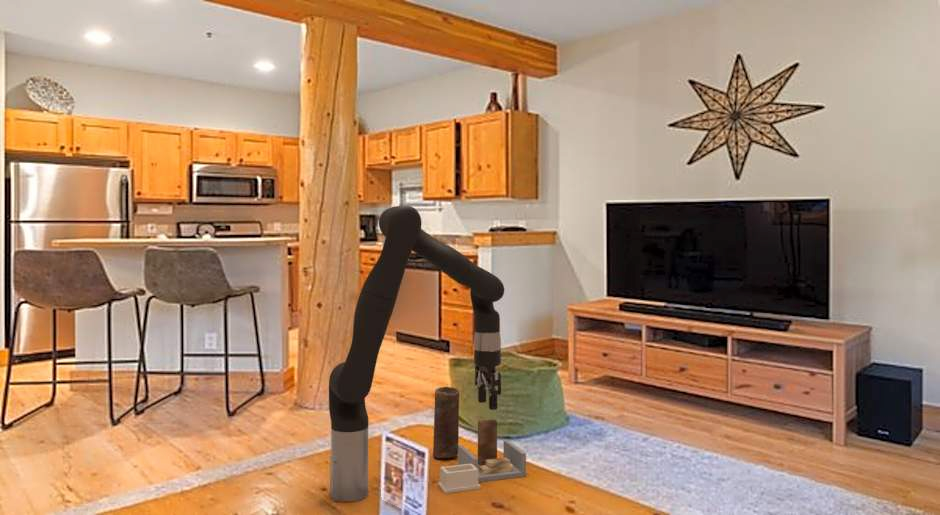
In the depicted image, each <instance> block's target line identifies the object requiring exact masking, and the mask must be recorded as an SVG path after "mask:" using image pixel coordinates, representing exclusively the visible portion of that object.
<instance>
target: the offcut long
mask: <svg viewBox="0 0 940 515" xmlns="http://www.w3.org/2000/svg"><path fill="white" fill-rule="evenodd" d="M478 471H479V472H480V473H481V474H482V475H487V474H495V473H504V472H512V471H514V466H513V465H512V464H511V463H510V466H505V467H498V468H491V469H490V468H488V467H487V466H486V465H482V466H478Z"/></svg>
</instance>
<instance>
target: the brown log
mask: <svg viewBox="0 0 940 515" xmlns="http://www.w3.org/2000/svg"><path fill="white" fill-rule="evenodd" d="M433 413H434V417H433V418H434V419H433V447H432V449H433V450H432V451H433V453H432V456H433V457H434V458H437V459H447V460H448V459H449V460H450V459H453V458H454V457H457V456H458V445H459V434H460V433H459V432H460V431H459V427H460V426H459V423H460V422H459V419H460V417H459V416H460V390H458V389H457V388H455V387H451V386H443V387H440V386H439V387H438V388H436V389H435V390H434V412H433Z"/></svg>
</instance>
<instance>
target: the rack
mask: <svg viewBox="0 0 940 515" xmlns="http://www.w3.org/2000/svg"><path fill="white" fill-rule="evenodd" d="M503 457H506V458H507V459H509V460H510V463H511V464H512V465H513V466H514V471H512V472H504V473H495V474H487V475H482V474H481V473H480V472H479V471H478V483H483V482H491V481H499V480H506V479H507V480H508V479H514V478H522V477H523V478H524V477H527V453H526V452H525V451H524V450H522V449H521V448H520V447H518V446H517V445H515V444H513V443H512V442H511V441H509V440H508V439H503ZM503 457H502V458H503ZM471 463H472V464H473V465H474V466H475V467H476V468H477V469H478V466H480V465H479V464H478V456H477V457H476V456H475V455H474V454H473V453H472V452H471V451H470V450H469V449H467V447H465V445H463V444H458V454H457V465H463V464H471Z"/></svg>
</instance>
